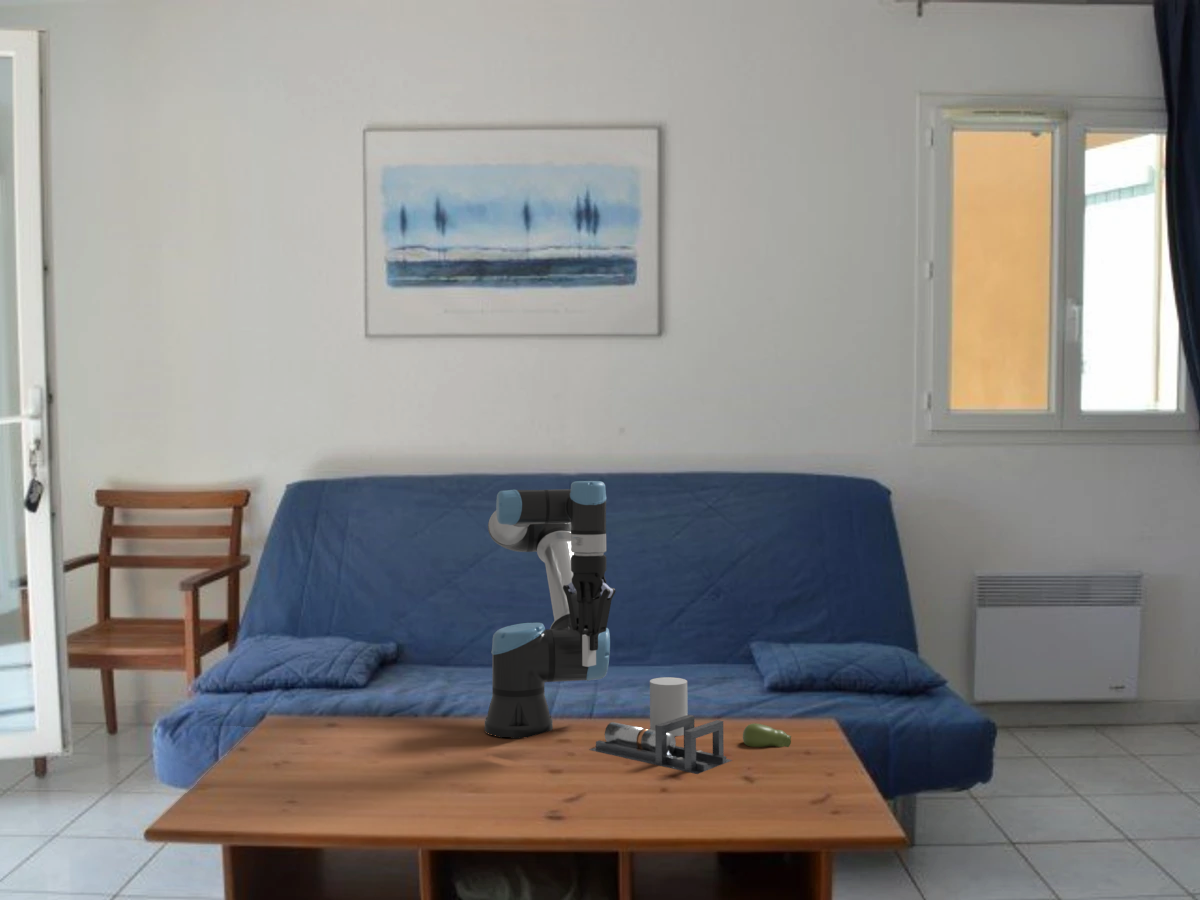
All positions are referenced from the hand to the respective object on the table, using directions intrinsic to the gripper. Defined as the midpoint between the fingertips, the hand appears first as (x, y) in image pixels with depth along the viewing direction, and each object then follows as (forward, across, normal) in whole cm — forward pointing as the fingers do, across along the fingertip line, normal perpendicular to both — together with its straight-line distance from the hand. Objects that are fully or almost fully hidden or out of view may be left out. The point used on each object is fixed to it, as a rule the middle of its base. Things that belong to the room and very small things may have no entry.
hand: (589, 665), depth 231 cm
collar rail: (+17, +18, 0) cm, 25 cm away
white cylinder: (+17, +9, +16) cm, 25 cm away
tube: (+16, +13, 0) cm, 20 cm away
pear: (+17, +31, +21) cm, 41 cm away
